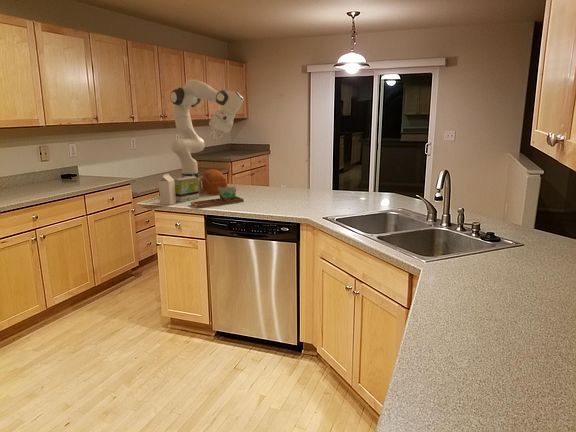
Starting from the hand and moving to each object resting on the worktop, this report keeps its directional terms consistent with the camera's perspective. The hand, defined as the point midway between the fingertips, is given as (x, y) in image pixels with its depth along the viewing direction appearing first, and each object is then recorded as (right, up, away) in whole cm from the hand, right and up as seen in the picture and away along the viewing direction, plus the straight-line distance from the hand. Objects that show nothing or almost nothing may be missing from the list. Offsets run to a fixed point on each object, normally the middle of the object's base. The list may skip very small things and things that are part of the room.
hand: (214, 135), depth 269 cm
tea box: (-22, -40, +16) cm, 48 cm away
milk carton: (-30, -43, +4) cm, 53 cm away
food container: (+8, -42, +7) cm, 43 cm away
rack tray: (+1, -43, +3) cm, 43 cm away
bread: (-8, -32, +46) cm, 57 cm away
